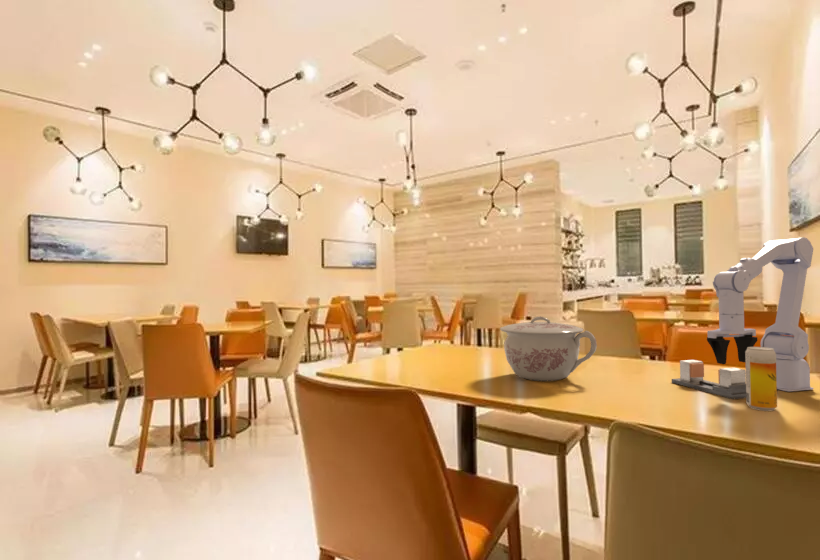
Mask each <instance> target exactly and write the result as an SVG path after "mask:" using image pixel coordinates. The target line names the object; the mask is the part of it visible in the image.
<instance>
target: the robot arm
mask: <svg viewBox="0 0 820 560" xmlns="http://www.w3.org/2000/svg"><path fill="white" fill-rule="evenodd" d="M813 255H814V247H813V245H812V242H811V241H810V240H809V239H808V238H807V237H805V236H801V237H796V238H795V237H794V238H787V239H785V238H783V239H769V240H768V241H766V242H764V243H763V244H762V249H761V250H759V251H758V252H757V253H756V254H754V256H753V257H742V258H740V259H739V262H738V263H736V264H734V265H732V266H730V267H729V268H728V270H726V271H720V272H718V273H717V274H716V275H715V276H714V277H713V281H712V285H713V288H714V290H715V294H716V295H715V296H716V297H717V298H718V320H719V321H718V323H719V324H718V326H719V328H716V329H712V330H707V337H706V341H707V342H708V345H710V348H711V349H712V352H713V354H714V358H715V360H716V363H717V364H721V365H726V364H727V356H728V354H727V353H728V348H729V345H730V342H731V340H730V339H726V338H733V340H734V341H735V345H736V348H737V358H738V359H737V360H738V362H742V363H745V364H746V362H745V351H746V350H747V347H755V345H756V343H757V342H758V337H756V336H757V331H756V330H757V329H755V328H745V306H744V305H745V303H744V301H745V300H744V297H745V296H744V292H745V291H747V290H748V289H749V285H750V284H751V281H752V280H754V279H755V278H756V277H758V276H759V275H761V274H762V272H763V267H765V266H766V265H768V264H770V263H771V264H772V265H773V266H774V267H775V268H776V269H778V270H781V271H782V273H783V275H782V281H781V287H780V293H779V300H778V305H777V310H776V317H775V322H774V323H773V324H772V325H770V326H768V327H767V328H765V330H764V334H763V336H762V338H761V339H760V347H767V348H773V349H774V351H775V353H776V377H777V390H778V391H779V390H780V391H784V392H789V393H790V392H799V391H809V390H810V391H811V390H812V391H813V390H814V387H811V374H810V373H811V369H810V368H811V367H810V364H809V363H808V361H806V360H805V359H804V358H805V357H806V356H807V355H808V353H809V350H810V346H809V334H808V333H807V332H806V331H805V330H803V329H802V328H801V327H800V326H799V323H800V316H801V309H802V303H803V299H804V292H805V285H806V279H807V274H808V273H807V272H808V269H809V268H810V267H811V266H812V260H813Z"/></svg>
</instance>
